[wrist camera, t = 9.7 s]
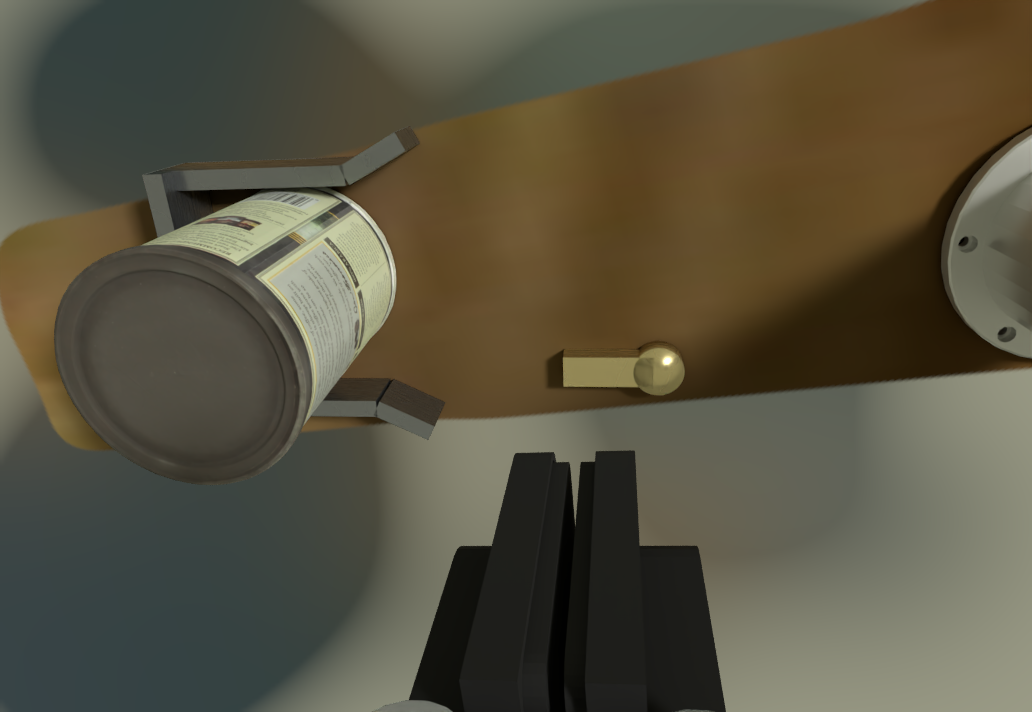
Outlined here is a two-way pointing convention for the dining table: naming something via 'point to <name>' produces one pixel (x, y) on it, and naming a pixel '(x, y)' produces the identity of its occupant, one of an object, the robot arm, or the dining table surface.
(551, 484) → the robot arm
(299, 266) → the coffee can
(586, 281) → the dining table surface
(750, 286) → the dining table surface
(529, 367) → the dining table surface
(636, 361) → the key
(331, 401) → the bracket
